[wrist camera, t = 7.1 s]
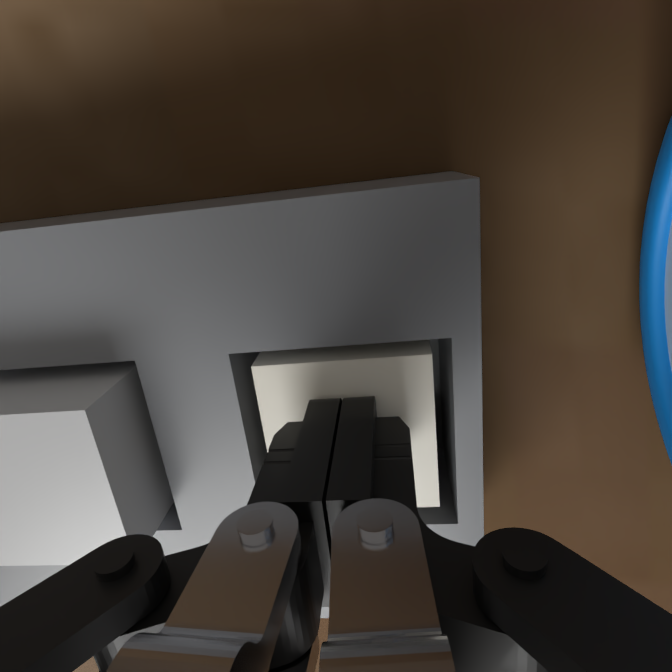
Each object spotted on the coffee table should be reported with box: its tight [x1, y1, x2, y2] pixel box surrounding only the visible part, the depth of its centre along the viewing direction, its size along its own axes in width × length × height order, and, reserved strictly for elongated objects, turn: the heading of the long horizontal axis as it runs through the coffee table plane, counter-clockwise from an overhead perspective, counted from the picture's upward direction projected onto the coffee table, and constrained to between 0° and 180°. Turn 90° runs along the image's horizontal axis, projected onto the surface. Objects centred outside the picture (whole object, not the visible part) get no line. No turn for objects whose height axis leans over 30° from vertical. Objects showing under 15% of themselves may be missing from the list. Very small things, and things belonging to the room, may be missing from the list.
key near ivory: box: [251, 340, 440, 507], centre depth 13 cm, size 4×4×3 cm
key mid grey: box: [0, 361, 174, 566], centre depth 12 cm, size 4×4×3 cm
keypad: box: [0, 171, 484, 618], centre depth 14 cm, size 20×11×4 cm, turn 97°
